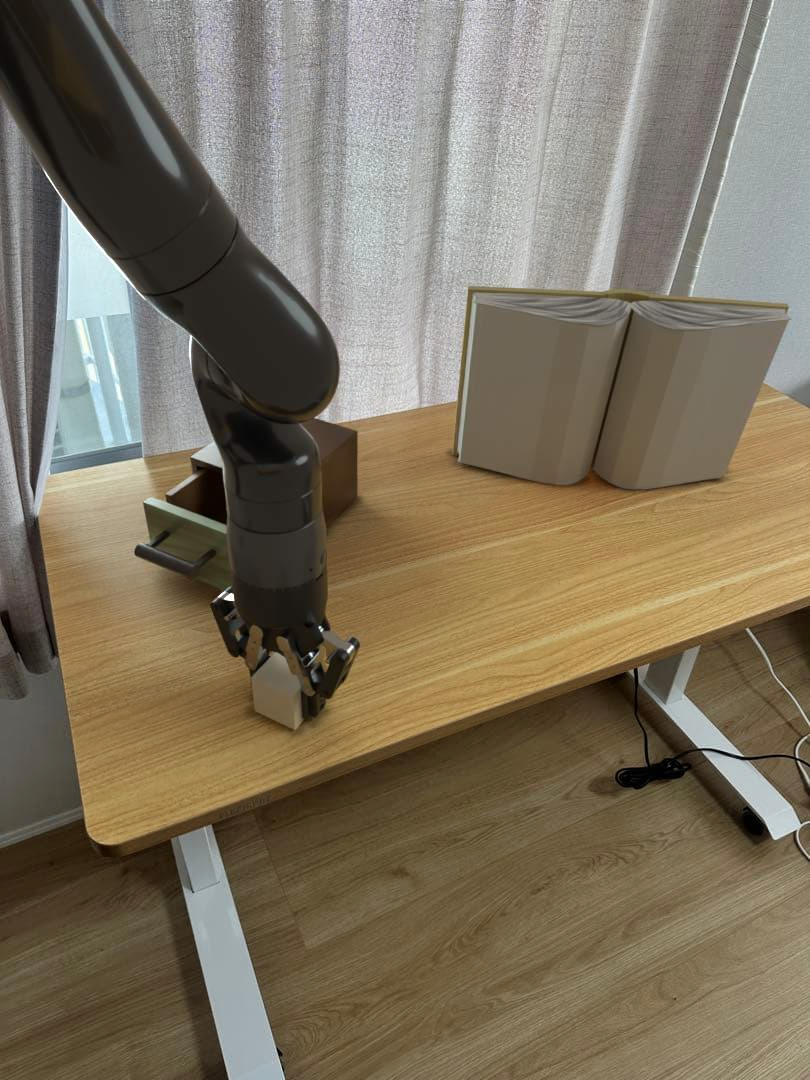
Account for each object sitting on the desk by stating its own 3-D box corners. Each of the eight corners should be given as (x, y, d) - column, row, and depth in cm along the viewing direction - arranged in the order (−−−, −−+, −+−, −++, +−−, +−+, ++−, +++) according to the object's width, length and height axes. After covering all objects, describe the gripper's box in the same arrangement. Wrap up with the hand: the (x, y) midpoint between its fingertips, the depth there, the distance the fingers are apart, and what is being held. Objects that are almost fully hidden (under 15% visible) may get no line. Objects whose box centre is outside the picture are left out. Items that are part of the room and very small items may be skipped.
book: (719, 462, 109) (785, 297, 92) (732, 500, 104) (805, 333, 87) (452, 447, 110) (467, 280, 93) (451, 485, 105) (467, 315, 87)
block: (295, 730, 71) (293, 696, 68) (254, 711, 72) (250, 677, 69) (322, 697, 74) (321, 663, 71) (282, 679, 75) (280, 646, 73)
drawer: (213, 621, 80) (204, 560, 75) (125, 583, 84) (112, 523, 79) (311, 530, 92) (309, 472, 88) (231, 501, 96) (225, 444, 92)
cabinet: (290, 562, 89) (285, 490, 83) (199, 528, 93) (189, 457, 88) (357, 499, 99) (357, 430, 94) (273, 470, 104) (268, 403, 98)
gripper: (173, 550, 62) (199, 700, 73) (330, 614, 57) (334, 765, 68) (233, 503, 68) (249, 649, 78) (382, 557, 63) (378, 705, 73)
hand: (288, 702), depth 73 cm, fingers closed on block, 4 cm apart
